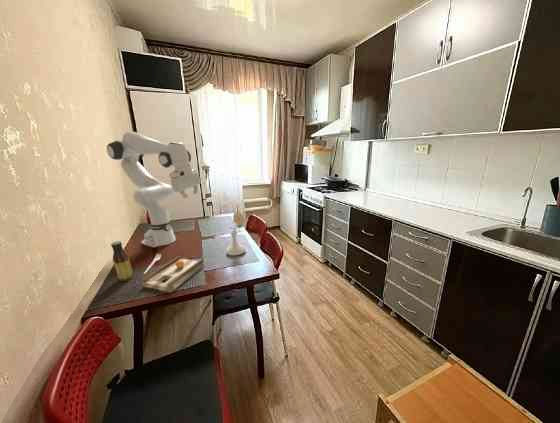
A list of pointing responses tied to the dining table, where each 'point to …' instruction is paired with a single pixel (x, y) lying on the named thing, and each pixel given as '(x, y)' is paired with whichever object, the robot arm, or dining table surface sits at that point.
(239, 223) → the flower in vase
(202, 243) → the dining table surface
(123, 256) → the sauce bottle
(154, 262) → the fork
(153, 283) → the beige tray
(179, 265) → the ball
